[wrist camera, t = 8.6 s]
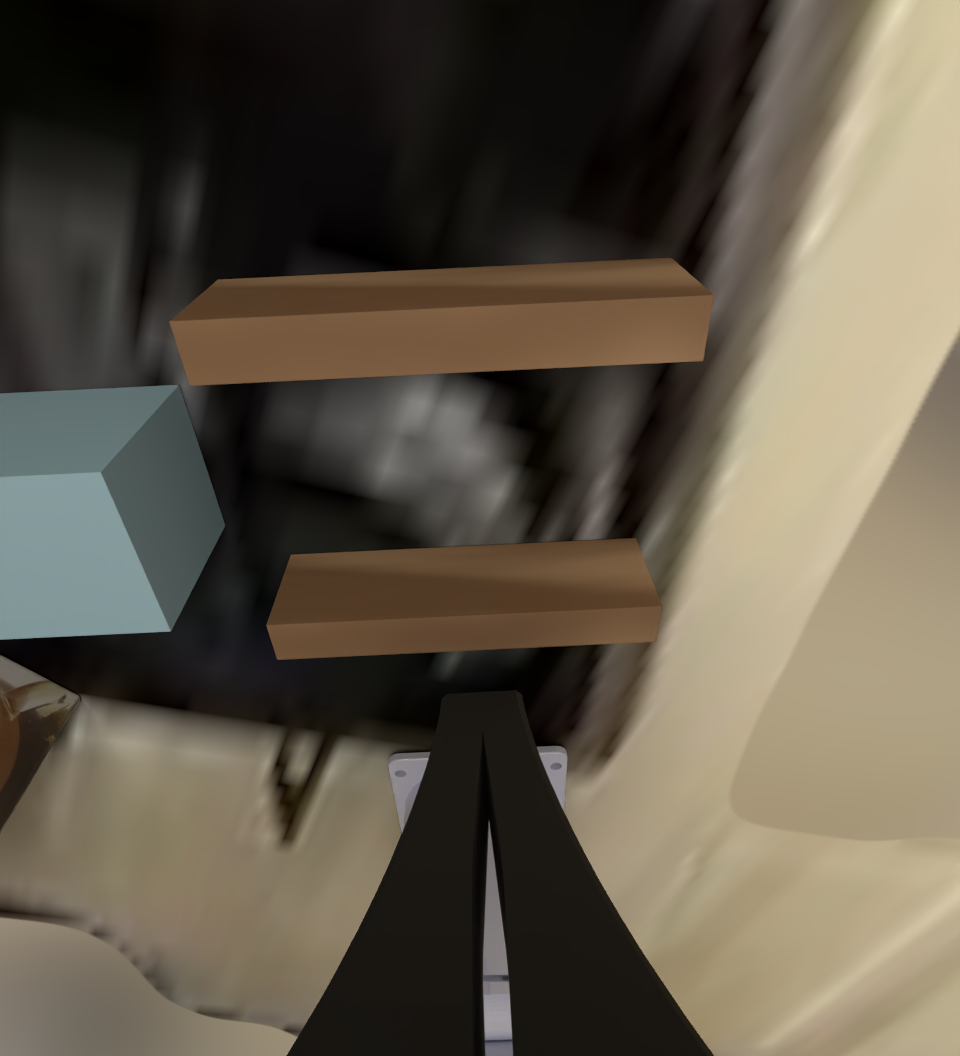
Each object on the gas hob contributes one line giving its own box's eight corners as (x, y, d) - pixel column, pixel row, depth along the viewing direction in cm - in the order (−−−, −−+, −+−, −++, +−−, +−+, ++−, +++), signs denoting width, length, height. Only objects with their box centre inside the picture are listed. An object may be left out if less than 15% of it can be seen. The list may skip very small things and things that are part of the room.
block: (225, 525, 22) (170, 631, 17) (-14, 537, 22) (-123, 645, 17) (178, 385, 19) (100, 471, 15) (-96, 398, 19) (-252, 489, 15)
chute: (631, 571, 23) (655, 641, 20) (299, 587, 23) (277, 659, 20) (671, 258, 17) (714, 295, 14) (218, 279, 17) (169, 321, 14)
